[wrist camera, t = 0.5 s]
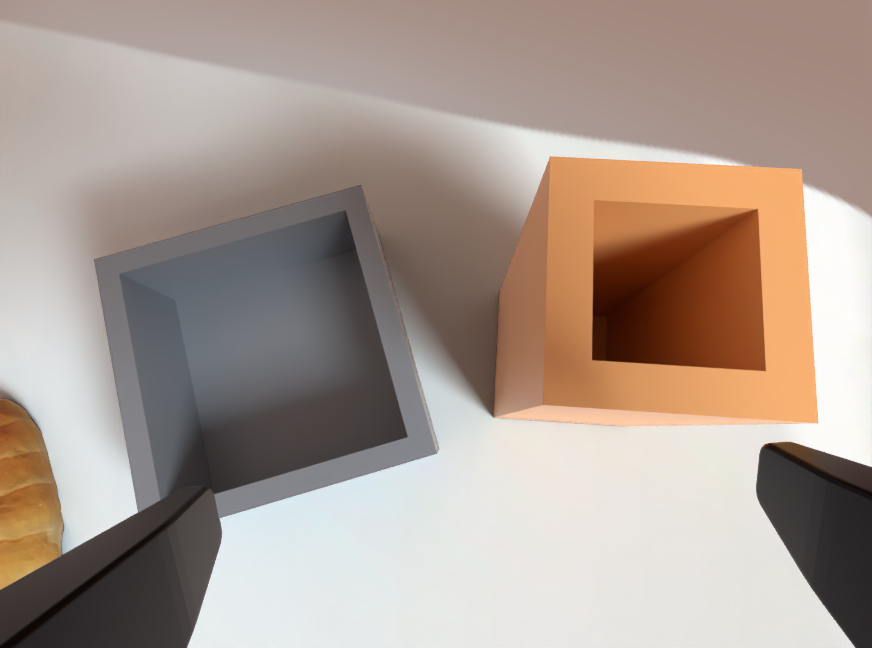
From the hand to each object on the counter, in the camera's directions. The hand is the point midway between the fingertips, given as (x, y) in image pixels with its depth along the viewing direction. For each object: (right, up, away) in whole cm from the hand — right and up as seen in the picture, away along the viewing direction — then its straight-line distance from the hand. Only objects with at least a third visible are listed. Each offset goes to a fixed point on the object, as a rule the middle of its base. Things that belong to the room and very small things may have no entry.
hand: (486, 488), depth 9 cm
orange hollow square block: (+5, +1, +15) cm, 16 cm away
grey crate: (-7, +1, +15) cm, 17 cm away
